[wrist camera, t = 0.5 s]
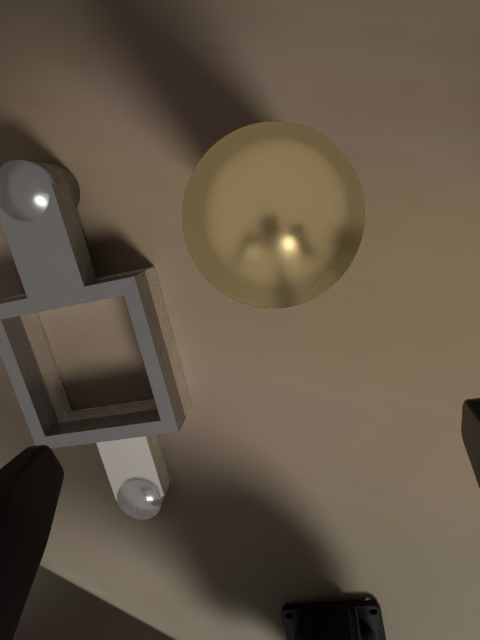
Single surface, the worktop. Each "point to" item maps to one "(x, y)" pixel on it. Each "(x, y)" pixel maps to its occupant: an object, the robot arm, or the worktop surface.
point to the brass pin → (273, 214)
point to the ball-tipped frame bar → (71, 289)
